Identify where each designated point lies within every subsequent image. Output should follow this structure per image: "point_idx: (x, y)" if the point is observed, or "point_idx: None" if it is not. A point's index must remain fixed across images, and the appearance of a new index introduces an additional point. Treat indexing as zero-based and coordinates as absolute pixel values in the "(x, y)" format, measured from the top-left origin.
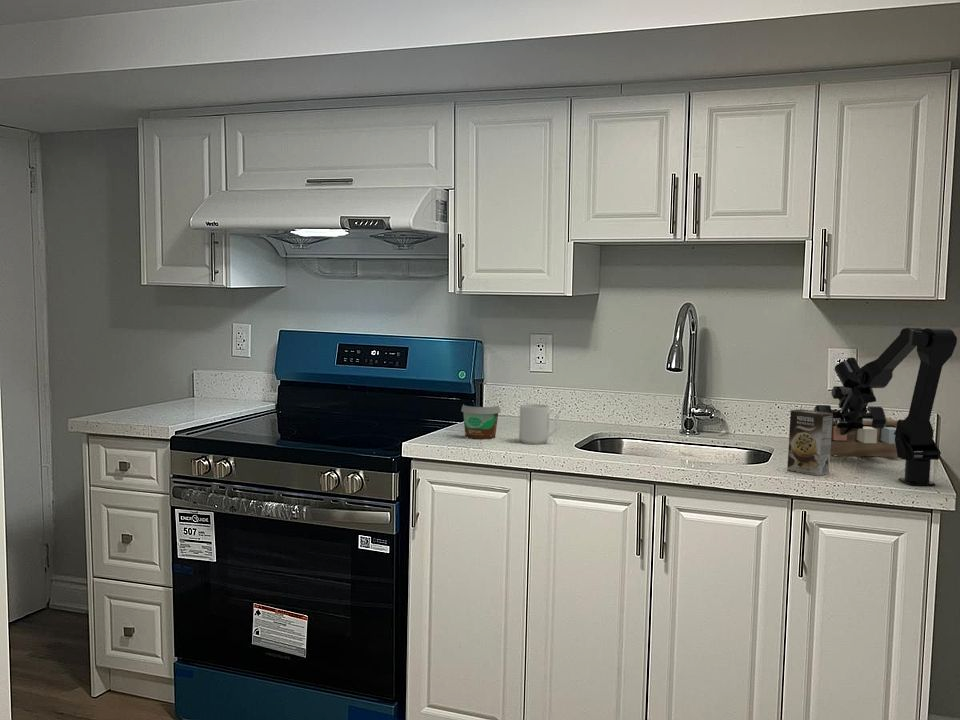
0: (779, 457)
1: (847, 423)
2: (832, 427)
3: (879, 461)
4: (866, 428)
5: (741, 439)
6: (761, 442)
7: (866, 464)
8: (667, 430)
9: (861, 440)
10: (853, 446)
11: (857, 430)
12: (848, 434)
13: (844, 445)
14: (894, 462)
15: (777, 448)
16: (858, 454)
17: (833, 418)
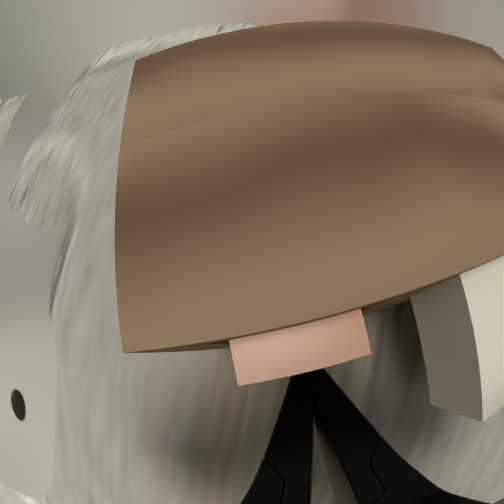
0: (59, 410)
1: (347, 500)
2: None
3: None
4: (500, 374)
5: (66, 120)
6: (88, 132)
7: None
8: (12, 113)
9: (429, 365)
10: (378, 309)
11: (442, 285)
12: (368, 310)
13: None
14: None
15: (86, 216)
16: (390, 306)
17: (253, 130)
